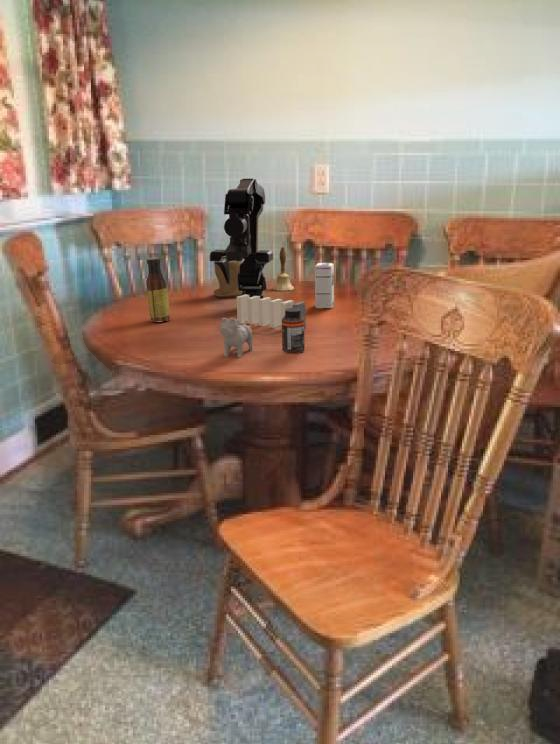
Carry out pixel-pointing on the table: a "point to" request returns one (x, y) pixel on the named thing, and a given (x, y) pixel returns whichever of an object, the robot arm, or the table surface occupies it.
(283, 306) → the domino
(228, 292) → the stone cup
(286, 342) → the supplement bottle
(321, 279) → the syrup box
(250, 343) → the grey animal figure
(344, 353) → the table surface
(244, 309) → the domino
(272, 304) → the domino
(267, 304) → the domino
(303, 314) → the domino
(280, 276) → the hand bell
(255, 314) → the domino
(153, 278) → the sauce bottle
